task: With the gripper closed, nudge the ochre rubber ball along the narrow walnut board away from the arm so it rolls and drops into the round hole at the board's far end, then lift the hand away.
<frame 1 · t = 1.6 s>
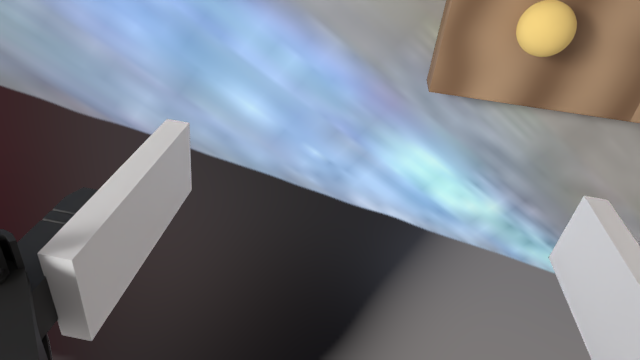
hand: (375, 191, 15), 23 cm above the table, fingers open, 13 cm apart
board: (628, 27, 32), on the table
ball: (545, 28, 29), point 4 cm above the table, touching board
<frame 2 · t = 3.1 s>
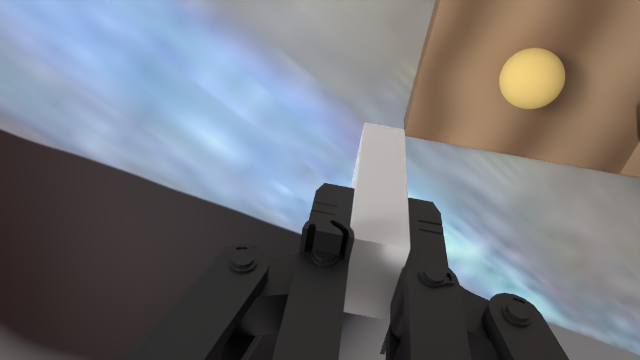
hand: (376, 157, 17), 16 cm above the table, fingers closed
board: (620, 73, 30), on the table
ball: (531, 78, 26), point 4 cm above the table, touching board
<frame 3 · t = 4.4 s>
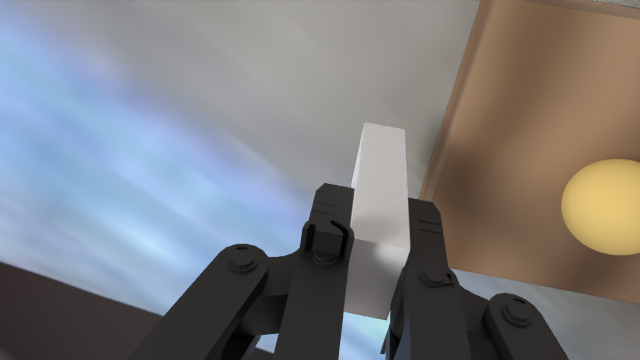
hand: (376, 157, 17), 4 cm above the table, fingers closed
ball: (615, 206, 16), point 4 cm above the table, touching board
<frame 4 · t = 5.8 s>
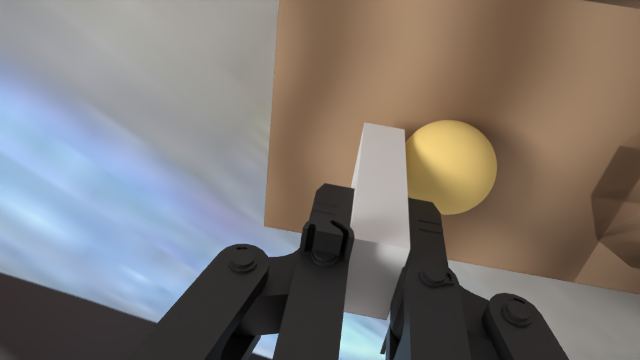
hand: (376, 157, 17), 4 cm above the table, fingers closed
board: (570, 139, 20), on the table
ball: (446, 167, 17), point 4 cm above the table, tilted 30°, touching board
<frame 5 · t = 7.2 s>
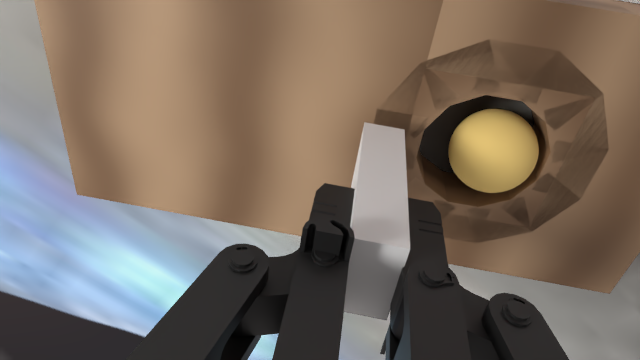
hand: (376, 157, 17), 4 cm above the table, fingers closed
board: (362, 108, 20), on the table
ball: (492, 150, 19), point 2 cm above the table, tilted 93°
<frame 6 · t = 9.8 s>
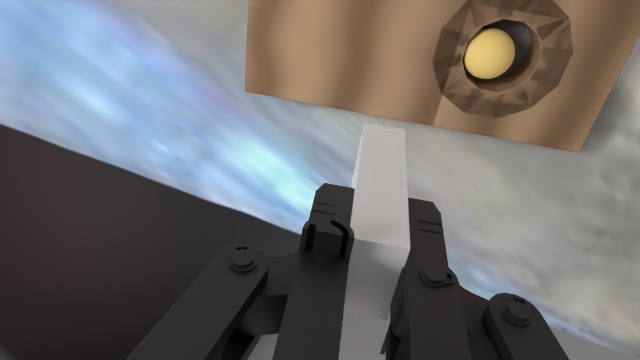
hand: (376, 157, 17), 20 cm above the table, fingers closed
board: (427, 35, 34), on the table
ball: (488, 53, 32), point 2 cm above the table, tilted 50°
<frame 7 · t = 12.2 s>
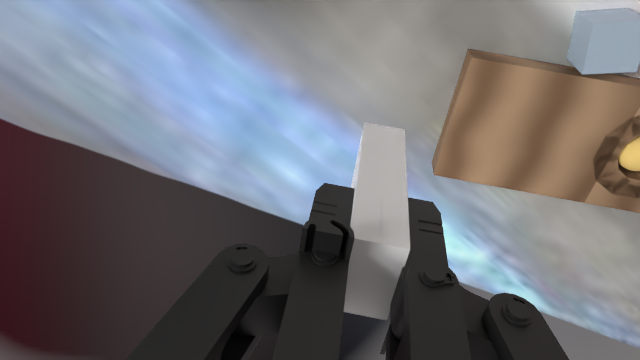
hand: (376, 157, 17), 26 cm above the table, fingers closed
board: (583, 133, 43), on the table
cube: (596, 34, 38), on the table
ball: (637, 152, 41), point 2 cm above the table, tilted 53°
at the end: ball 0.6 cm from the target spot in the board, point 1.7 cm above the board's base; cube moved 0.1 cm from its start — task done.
